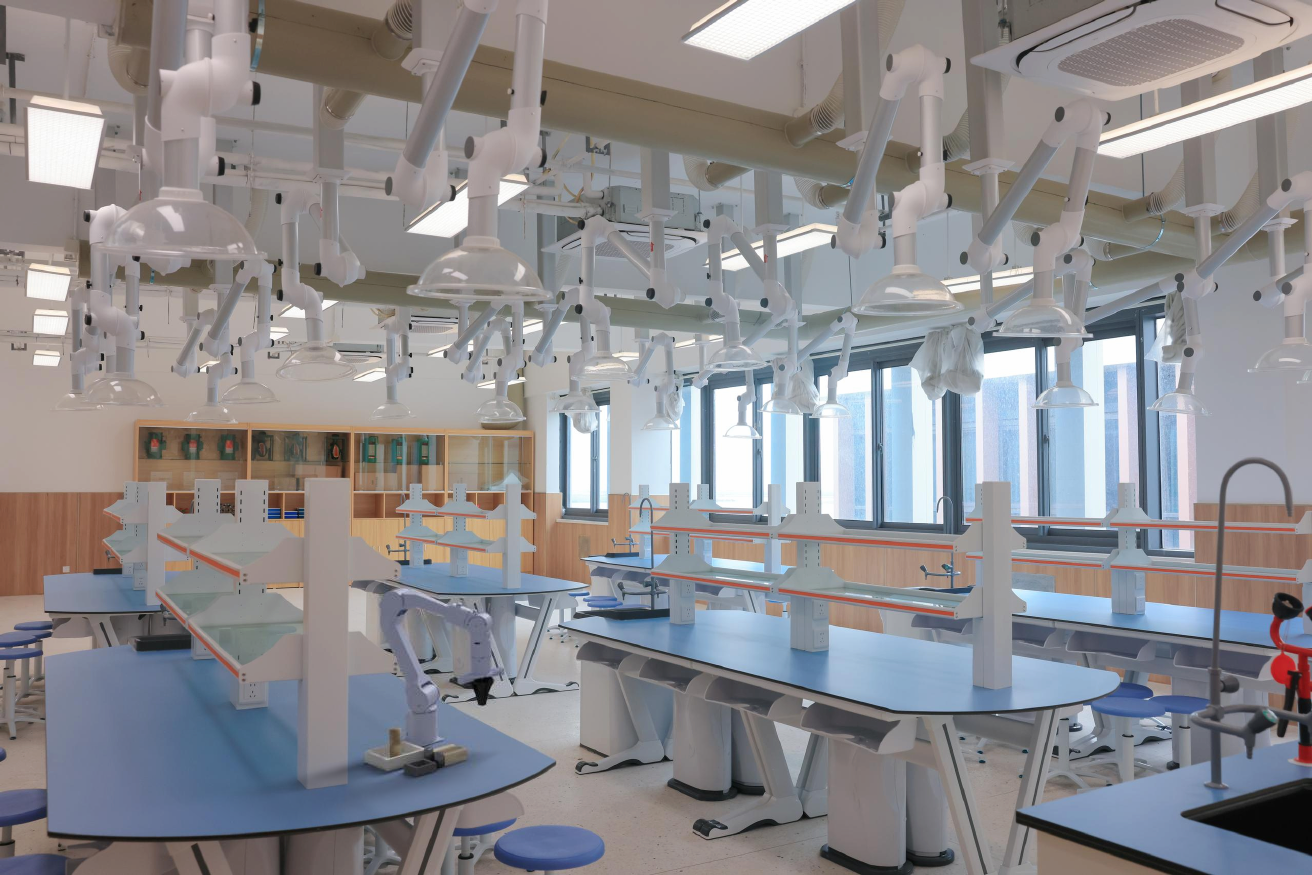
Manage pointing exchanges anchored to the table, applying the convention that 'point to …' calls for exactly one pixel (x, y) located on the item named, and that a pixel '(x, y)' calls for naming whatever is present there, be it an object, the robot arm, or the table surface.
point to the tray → (383, 761)
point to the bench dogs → (437, 757)
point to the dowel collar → (420, 767)
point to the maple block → (452, 754)
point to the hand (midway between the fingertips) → (482, 704)
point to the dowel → (395, 741)
